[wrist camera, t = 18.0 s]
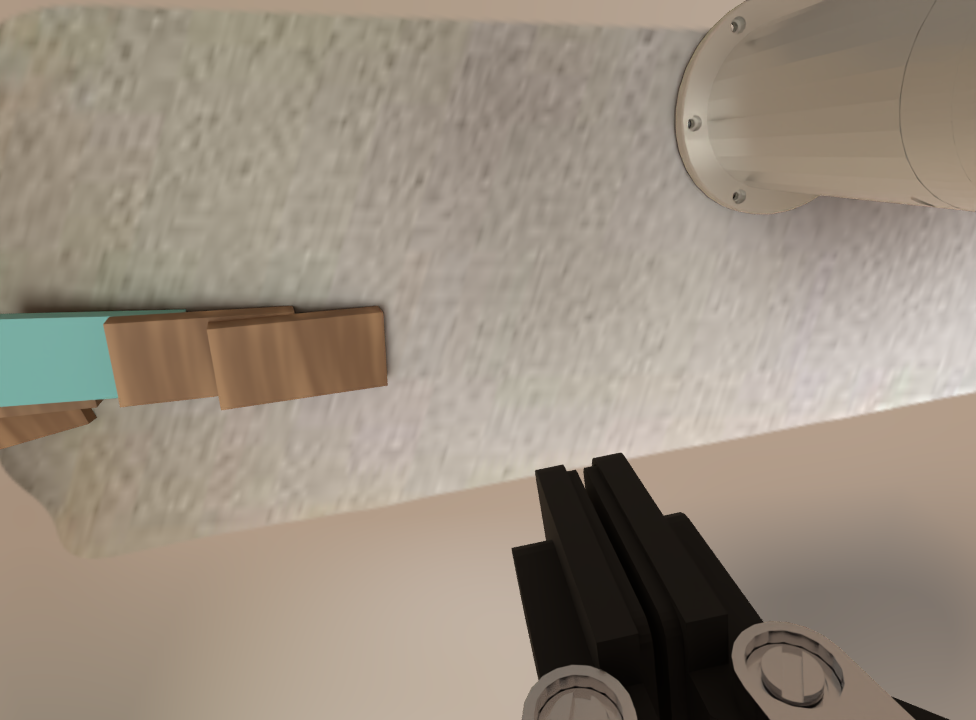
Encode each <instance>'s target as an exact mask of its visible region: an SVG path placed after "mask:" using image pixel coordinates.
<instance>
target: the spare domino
mask: <svg viewBox="0 0 976 720" xmlns="http://www.w3.org/2000/svg"><path fill="white" fill-rule="evenodd" d="M181 312H186V309H181V310H140V311H99V312H58V313H17V314H0V407H6V406H19V405H32V404H45V403H58V402H71V401H85V400H98V399H111V398H118V394H117V389H116V384H115V380H114V375H113V370H112V365H111V360H110V356H109V351H108V346H107V341H106V336H105V331H104V327H103V324H104V323H105V321H106V320H107V319H108V317H114V316H131V315H147V314H164V313H181Z"/></svg>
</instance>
